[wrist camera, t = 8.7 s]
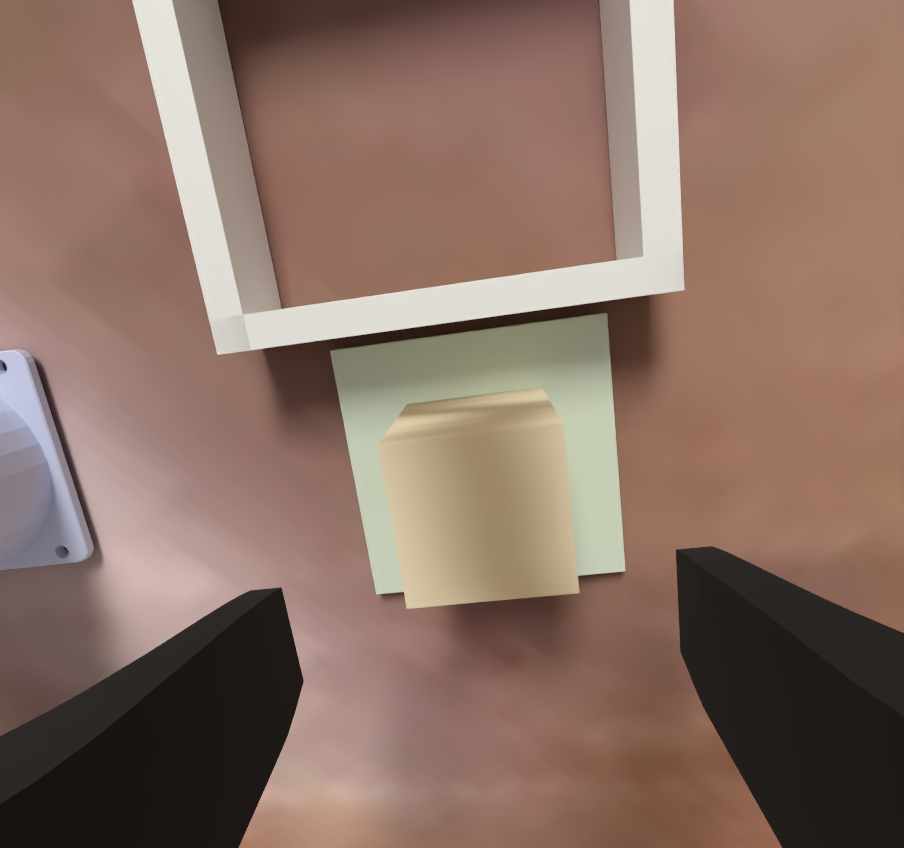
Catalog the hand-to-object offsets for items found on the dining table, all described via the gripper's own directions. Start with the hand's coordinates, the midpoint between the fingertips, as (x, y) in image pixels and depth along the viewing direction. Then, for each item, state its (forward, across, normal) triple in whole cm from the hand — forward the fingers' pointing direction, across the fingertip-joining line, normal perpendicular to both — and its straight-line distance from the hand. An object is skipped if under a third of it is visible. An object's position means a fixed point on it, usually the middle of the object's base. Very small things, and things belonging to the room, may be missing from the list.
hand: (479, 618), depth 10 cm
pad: (+9, 0, 0) cm, 9 cm away
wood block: (+9, 0, 0) cm, 9 cm away
